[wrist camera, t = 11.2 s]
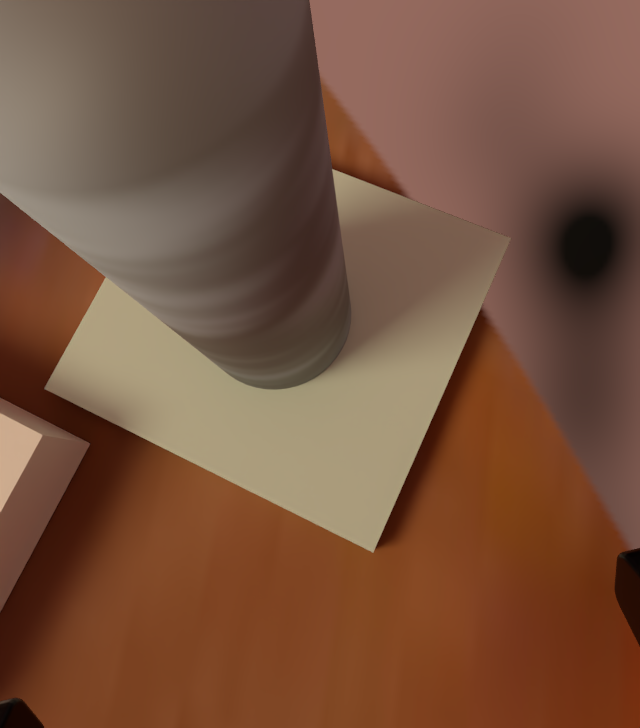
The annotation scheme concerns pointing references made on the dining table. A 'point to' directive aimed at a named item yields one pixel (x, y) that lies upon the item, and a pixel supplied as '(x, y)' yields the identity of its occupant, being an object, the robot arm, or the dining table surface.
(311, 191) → the peg
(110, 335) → the pad
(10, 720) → the robot arm
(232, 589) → the dining table surface
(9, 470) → the pocket block
